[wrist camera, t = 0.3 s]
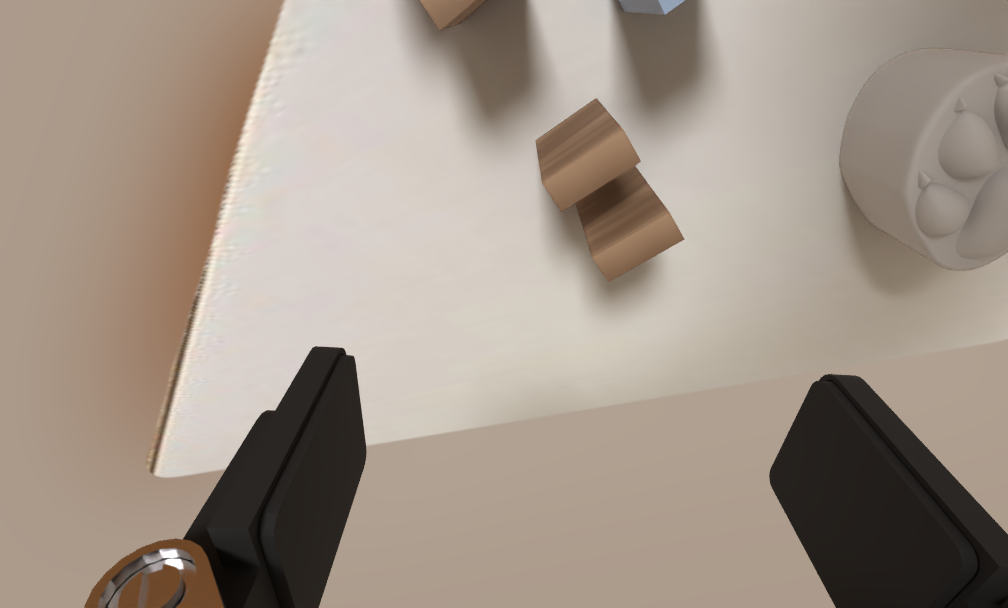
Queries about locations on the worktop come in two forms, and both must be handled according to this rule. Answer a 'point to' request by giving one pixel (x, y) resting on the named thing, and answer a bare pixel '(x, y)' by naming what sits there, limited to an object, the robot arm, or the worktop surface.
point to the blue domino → (649, 6)
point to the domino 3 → (626, 224)
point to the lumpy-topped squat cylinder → (933, 154)
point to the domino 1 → (450, 11)
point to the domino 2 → (583, 154)
